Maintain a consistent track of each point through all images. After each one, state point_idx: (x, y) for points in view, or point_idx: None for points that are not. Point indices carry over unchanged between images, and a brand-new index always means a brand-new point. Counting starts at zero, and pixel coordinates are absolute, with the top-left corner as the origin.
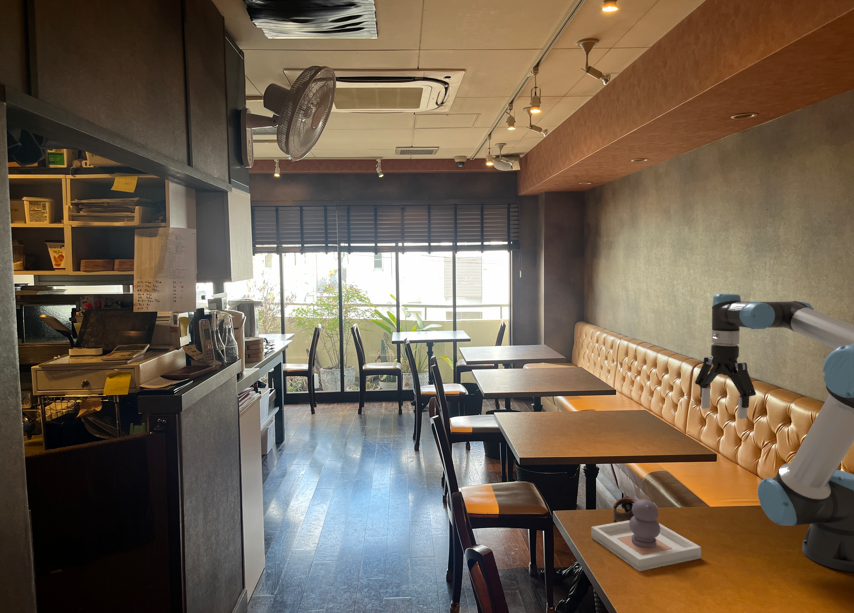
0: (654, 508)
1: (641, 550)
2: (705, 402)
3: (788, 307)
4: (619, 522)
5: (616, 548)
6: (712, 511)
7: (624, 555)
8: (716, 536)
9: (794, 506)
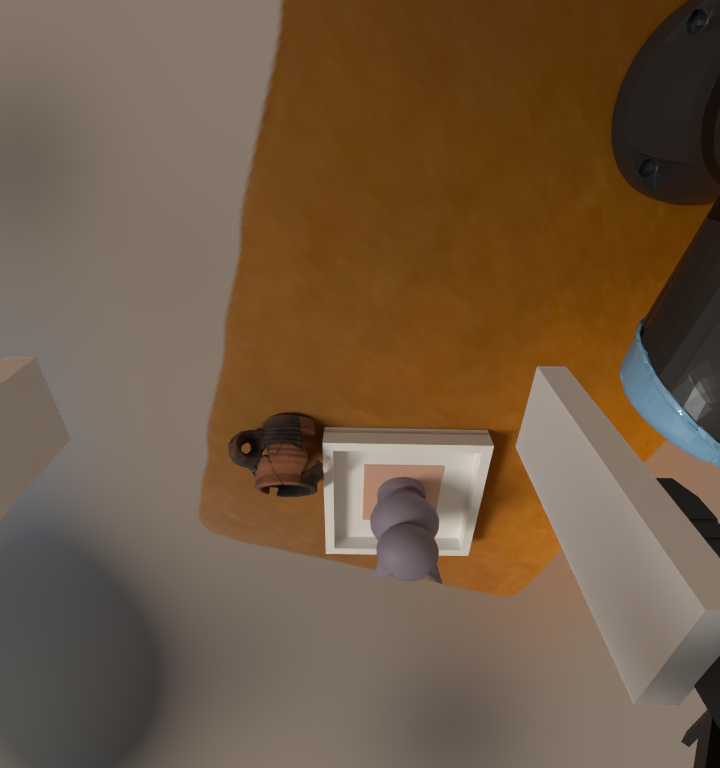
0: (434, 561)
1: None
2: (11, 461)
3: None
4: (326, 506)
5: None
6: (292, 182)
7: None
8: (431, 320)
9: None
